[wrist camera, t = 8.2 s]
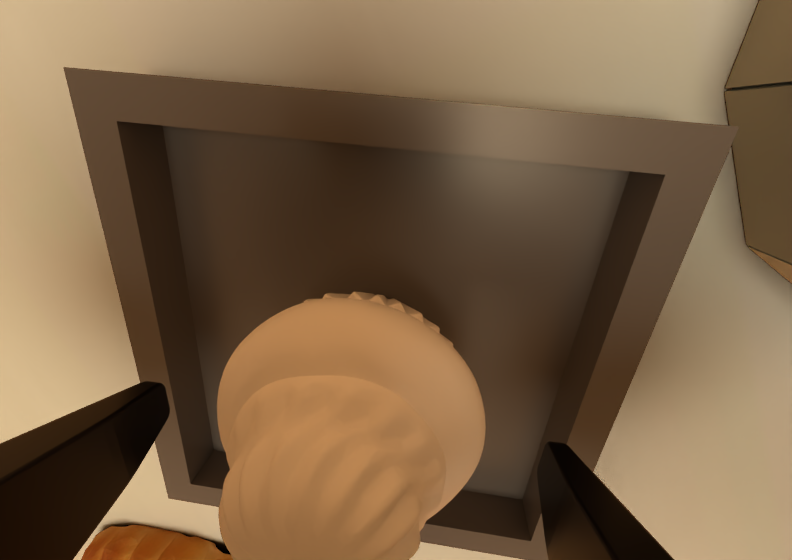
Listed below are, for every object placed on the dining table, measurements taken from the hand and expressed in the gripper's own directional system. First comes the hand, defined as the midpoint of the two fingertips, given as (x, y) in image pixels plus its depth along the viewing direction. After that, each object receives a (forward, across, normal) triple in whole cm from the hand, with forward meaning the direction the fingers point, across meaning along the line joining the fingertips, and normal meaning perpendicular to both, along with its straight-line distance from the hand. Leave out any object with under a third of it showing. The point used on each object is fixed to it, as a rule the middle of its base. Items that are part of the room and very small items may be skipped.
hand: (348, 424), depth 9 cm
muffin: (+4, 0, 0) cm, 4 cm away
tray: (+4, 0, 0) cm, 4 cm away
